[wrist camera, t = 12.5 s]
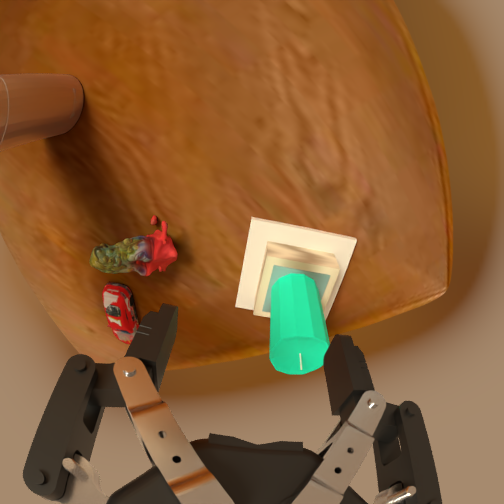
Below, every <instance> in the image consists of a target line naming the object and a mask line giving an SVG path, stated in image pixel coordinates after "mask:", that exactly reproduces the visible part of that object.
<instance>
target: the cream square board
mask: <svg viewBox="0 0 504 504" xmlns="http://www.w3.org/2000/svg"><path fill="white" fill-rule="evenodd" d="M267 241H271V242H276V243H281V244H287V245H292V246H297V247H302V248H308V249H313V250H318V251H323V252H328V253H333V254H334V255H335V257H336V260H337V262H338V265H339V267H340V271H339V274H338V277H337V279H336V282H335V285H334V287H333V290H332V292H331V295H330V297H329V300H328V302H327V305H326V307H325V310H324V312H323V313H324V317H325V321H326V318H327V316H328V314H329V311H330V309H331V307H332V304H333V302H334V299H335V297H336V294H337V292H338V290H339V287H340V285H341V282H342V279H343V277H344V274H345V272H346V269H347V266H348V264H349V261H350V258H351V256H352V253H353V250H354V247H355V245H356V242H357V240H356V238H353V237H349V236H344V235H339V234H335V233H330V232H325V231H321V230H316V229H311V228H306V227H301V226H296V225H291V224H286V223H281V222H276V221H271V220H265V219H260V218H255V217H252V219H251V225H250V230H249V235H248V241H247V246H246V251H245V257H244V262H243V268H242V273H241V278H240V284H239V289H238V295H237V300H236V306H235V307H239V308H245V309H250V310H254V302H255V294H256V290H257V286H258V281H259V277H260V272H261V268H262V263H263V259H264V254H265V250H266V245H267Z"/></svg>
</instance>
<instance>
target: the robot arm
mask: <svg viewBox="0 0 504 504" xmlns="http://www.w3.org/2000/svg"><path fill="white" fill-rule="evenodd" d="M83 100H84V95H83V89H82V86H81V84H80V82H79V80H78V79H77V78H75V77H74V76H72V75H66V74H7V75H0V152H1V151H4V150H7V149H10V148H13V147H16V146H19V145H22V144H26V143H29V142H33V141H36V140H40V139H44V138H48V137H52V136H56V135H60V134H64V133H66V132H68V131H69V130H70V129H71V128H72V127H73V126H74V125H75V124H76V122H77V121H78V119H79V117H80V114H81V111H82V108H83ZM177 317H178V307H177V306H173V305H169V304H164V303H163V304H162V306H161V308H160V310H159V313H157V312H153V311H150V312H149V313H148V314H147V315H145V316H144V317H143V319H142V321H141V323H140V326H139V327H138V329H137V332H136V333H135V335H134V338H133V340H132V342H131V344H130V346H129V348H128V350H127V353H126V355H125V356H124V357H123V358H121V359H119V360H118V361H117V362H116V363H111V364H102V363H95V362H94V361H93V359H92V358H91V357H89V356H87V355H83V354H78V355H75V356H73V357H71V358H70V359H69V360H68V361H67V363H66V365H65V367H64V369H63V372H62V373H61V376H60V378H59V380H58V382H57V384H56V386H55V388H54V391H53V393H52V395H51V398H50V400H49V402H48V405H47V407H46V409H45V411H44V414H43V416H42V419H41V422H40V424H39V426H38V429H37V432H36V434H35V437H34V440H33V442H32V446H31V448H30V451H29V454H28V457H27V460H26V463H25V467H24V470H23V478H24V481H25V484H26V485H27V486H28V488H29V489H30V490H31V491H33V492H34V493H35V494H37V495H39V496H41V497H42V498H44V499H46V500H48V501H51V502H53V503H55V504H368V503H367V502H365V500H363V499H362V498H361V497H360V496H359V495H358V494H357V493H356V492H355V491H354V490H353V489H352V488H351V487H350V486H349V484H350V483H351V481H352V479H353V478H354V476H355V474H356V473H357V471H358V469H359V467H360V466H361V464H362V462H363V460H364V458H365V457H366V455H367V453H368V451H369V449H370V447H371V445H372V443H373V448H374V455H375V463H376V470H377V478H378V487H379V494H378V495H377V496H376V498H375V500H374V503H373V504H442V499H441V494H440V488H439V482H438V477H437V473H436V468H435V463H434V459H433V455H432V451H431V446H430V443H429V439H428V435H427V431H426V428H425V424H424V421H423V417H422V414H421V410H420V408H419V407H418V406H417V405H416V404H415V403H414V402H412V401H404V402H403V403H402V404H401V405H400V406H397V405H393V404H390V403H387V402H386V401H385V399H384V397H383V396H382V395H381V394H380V393H378V392H376V391H375V390H374V387H373V383H372V380H371V376H370V374H369V370H368V369H367V364H366V363H365V362H366V361H365V358H364V355H363V353H362V351H361V350H360V349H359V348H358V346H354V344H353V341H352V338H351V336H348V335H339V334H337V335H335V337H334V338H333V340H332V342H331V344H330V346H329V347H328V349H327V351H326V353H325V355H324V359H323V365H324V371H325V376H326V382H327V387H328V392H329V399H330V405H331V411H332V415H340V417H341V419H340V421H339V422H338V423H337V425H336V426H335V428H334V429H333V431H332V432H331V434H330V435H329V437H328V438H327V439H326V441H325V442H324V443H323V445H322V446H321V447H320V449H319V450H318V451H317V452H316V453H314V452H312V451H311V450H308V449H305V448H303V442H287V441H279V442H273V443H267V444H260V445H256V444H253V443H250V442H247V441H244V440H241V439H238V438H235V437H230V436H223V435H217V434H211V433H210V435H209V438H208V439H199V440H195V441H191V442H189V441H188V439H187V438H186V436H185V435H184V433H183V431H182V430H181V428H180V426H179V425H178V423H177V421H176V419H175V418H174V416H173V414H172V412H171V411H170V409H169V407H168V405H167V404H166V403H165V402H163V401H162V400H161V398H160V396H159V394H158V393H157V392H159V388H160V385H161V382H162V378H163V375H164V372H165V369H166V366H167V363H168V359H169V356H170V353H171V350H172V347H173V344H174V341H175V337H176V332H177ZM105 407H124V408H125V410H126V412H127V415H128V417H129V419H130V421H131V424H132V426H133V428H134V430H135V432H136V435H137V437H138V439H139V441H140V443H141V446H142V448H143V450H144V452H145V454H146V456H147V458H148V459H149V461H150V463H151V465H152V468H151V469H149V470H148V471H146V472H145V473H144V474H142V475H140V476H139V477H137V478H136V479H134V480H133V481H131V482H129V483H128V484H126V485H125V486H123V487H122V488H120V489H118V490H117V491H115V492H114V493H113V494H112V495H111V496H110V497H107V496H106V495H105V494H104V493H103V492H102V490H101V487H100V476H99V473H98V471H97V470H96V469H95V468H94V467H93V466H92V465H91V464H90V463H89V461H90V457H91V453H92V450H93V446H94V442H95V438H96V436H97V432H98V429H99V425H100V422H101V419H102V416H103V412H104V409H105ZM398 438H399V440H398ZM399 441H400V445H401V450H400V445H399Z"/></svg>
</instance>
